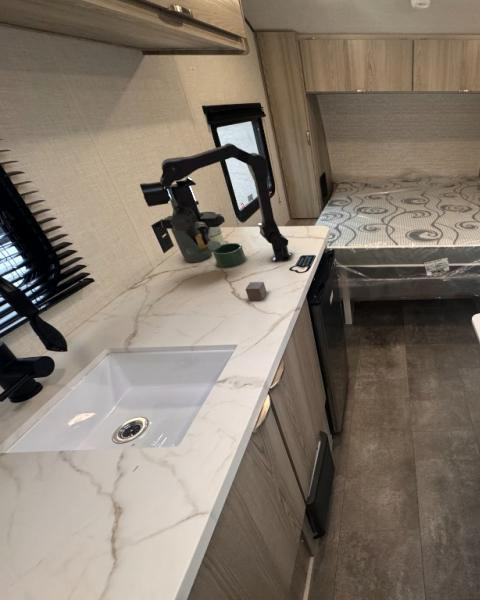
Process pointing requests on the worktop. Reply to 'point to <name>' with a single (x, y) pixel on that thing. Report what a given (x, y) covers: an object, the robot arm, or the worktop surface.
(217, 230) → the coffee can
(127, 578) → the worktop surface
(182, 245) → the bottle
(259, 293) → the block
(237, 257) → the tin
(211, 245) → the lid
